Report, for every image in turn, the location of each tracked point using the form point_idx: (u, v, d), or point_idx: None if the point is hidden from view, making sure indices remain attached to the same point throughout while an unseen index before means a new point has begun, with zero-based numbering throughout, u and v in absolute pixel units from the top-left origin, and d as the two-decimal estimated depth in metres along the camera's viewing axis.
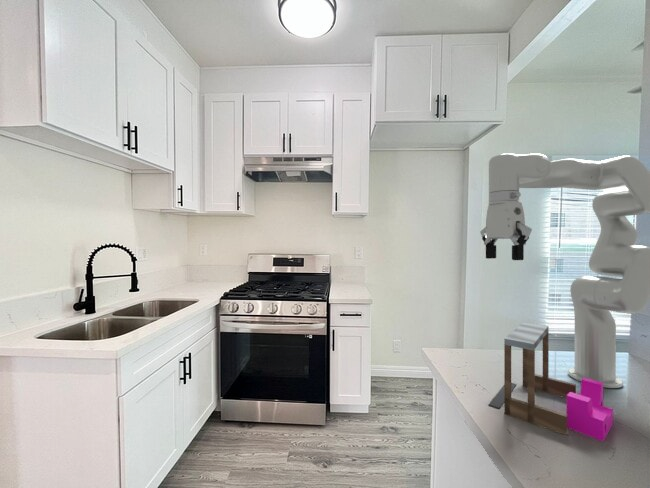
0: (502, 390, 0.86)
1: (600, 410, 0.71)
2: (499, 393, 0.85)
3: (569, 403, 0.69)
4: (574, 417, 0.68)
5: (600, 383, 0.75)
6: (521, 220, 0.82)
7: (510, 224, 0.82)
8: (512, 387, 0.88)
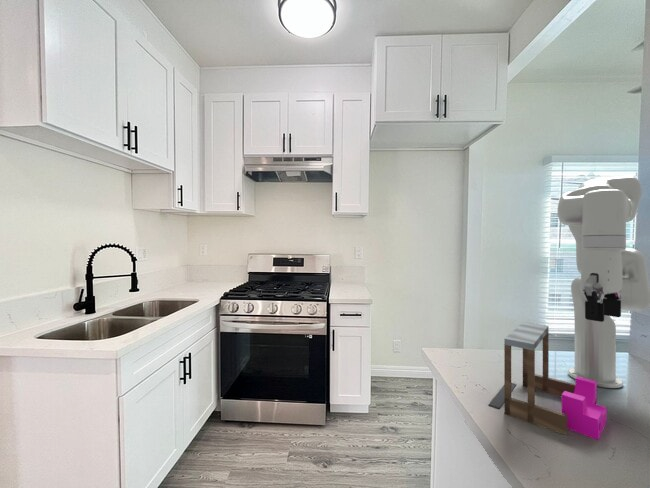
0: (502, 390, 0.86)
1: (594, 409, 0.72)
2: (499, 393, 0.85)
3: (564, 402, 0.70)
4: (569, 416, 0.69)
5: (594, 382, 0.76)
6: None
7: (622, 276, 0.71)
8: (512, 387, 0.88)
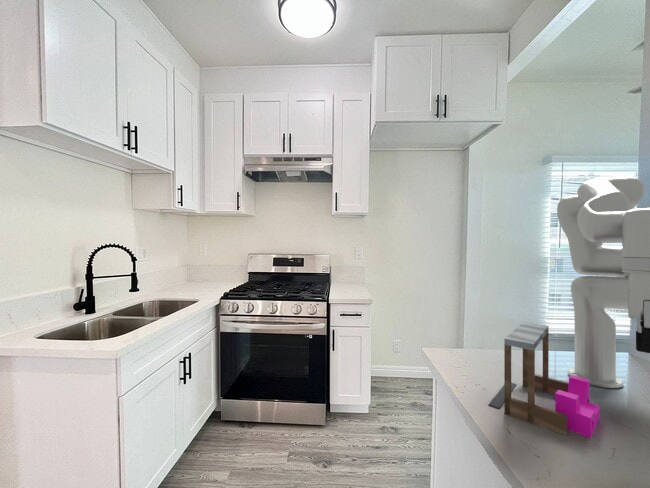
0: (502, 390, 0.86)
1: (587, 407, 0.73)
2: (499, 393, 0.85)
3: (558, 401, 0.70)
4: None
5: (587, 380, 0.77)
6: None
7: None
8: (512, 387, 0.88)
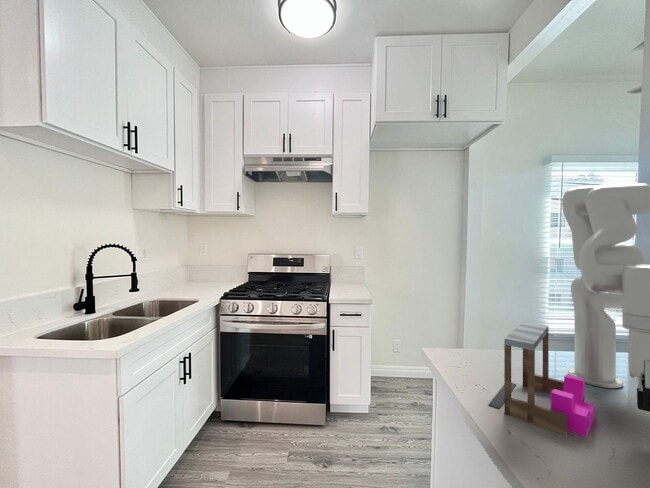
0: (502, 390, 0.86)
1: (582, 406, 0.73)
2: (499, 393, 0.85)
3: (553, 400, 0.71)
4: None
5: (582, 379, 0.77)
6: None
7: None
8: (512, 387, 0.88)
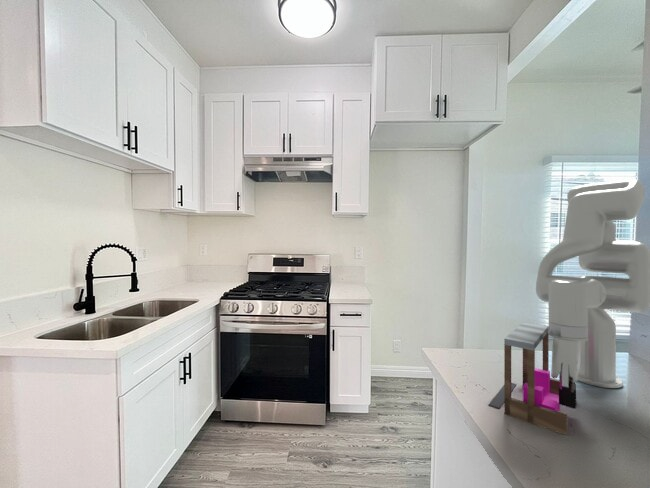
0: (502, 390, 0.86)
1: (549, 398, 0.77)
2: (499, 393, 0.85)
3: (525, 394, 0.74)
4: None
5: (548, 372, 0.82)
6: None
7: None
8: (512, 387, 0.88)
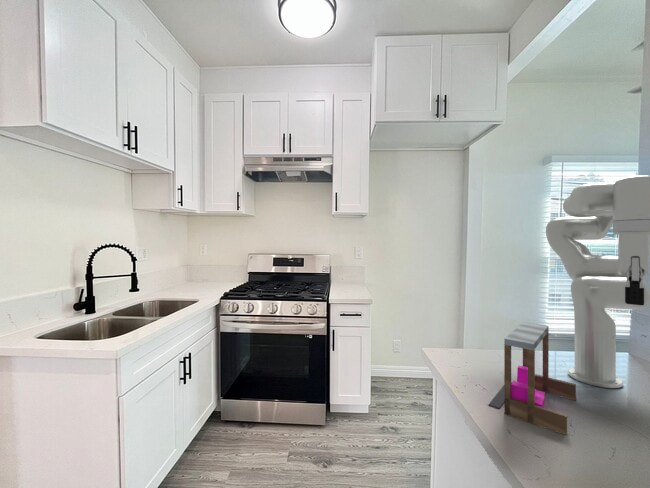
0: (502, 390, 0.86)
1: (535, 395, 0.79)
2: (499, 393, 0.85)
3: (513, 391, 0.75)
4: None
5: None
6: None
7: None
8: None
